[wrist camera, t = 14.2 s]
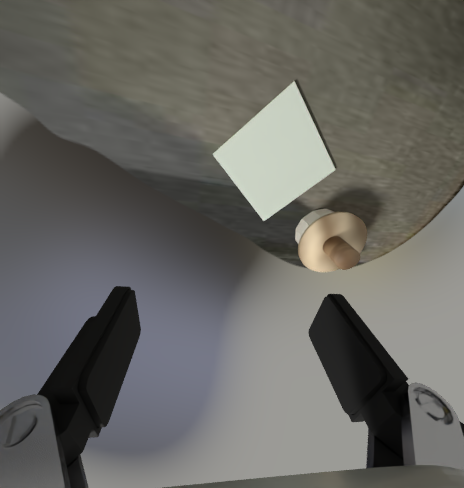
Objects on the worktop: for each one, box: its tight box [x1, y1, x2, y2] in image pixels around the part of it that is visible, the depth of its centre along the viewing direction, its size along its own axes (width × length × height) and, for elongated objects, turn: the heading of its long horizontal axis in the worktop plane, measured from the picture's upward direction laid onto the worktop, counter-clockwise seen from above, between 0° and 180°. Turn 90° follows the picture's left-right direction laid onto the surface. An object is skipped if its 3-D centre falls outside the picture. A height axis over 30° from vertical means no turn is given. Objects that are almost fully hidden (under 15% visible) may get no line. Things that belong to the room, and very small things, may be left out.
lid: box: [298, 212, 367, 272], centre depth 36 cm, size 13×13×6 cm
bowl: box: [295, 209, 334, 244], centre depth 41 cm, size 10×10×6 cm
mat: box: [213, 81, 335, 221], centre depth 35 cm, size 16×16×1 cm
